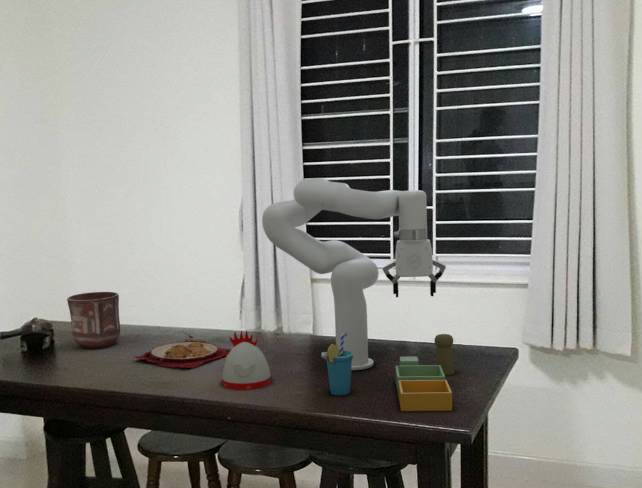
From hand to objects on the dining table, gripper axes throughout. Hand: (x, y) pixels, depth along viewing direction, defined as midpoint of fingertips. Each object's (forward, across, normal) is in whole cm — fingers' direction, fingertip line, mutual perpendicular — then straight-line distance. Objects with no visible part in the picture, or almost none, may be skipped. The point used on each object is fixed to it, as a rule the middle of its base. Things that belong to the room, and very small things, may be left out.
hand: (414, 296), depth 214 cm
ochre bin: (+22, +1, -28) cm, 36 cm away
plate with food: (+22, -73, +21) cm, 79 cm away
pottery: (+22, -111, +38) cm, 119 cm away
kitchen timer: (+22, -48, -8) cm, 53 cm away
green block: (+22, -2, -3) cm, 23 cm away
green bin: (+22, 0, -14) cm, 26 cm away
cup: (+22, -20, -17) cm, 35 cm away
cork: (+23, +8, +1) cm, 24 cm away
